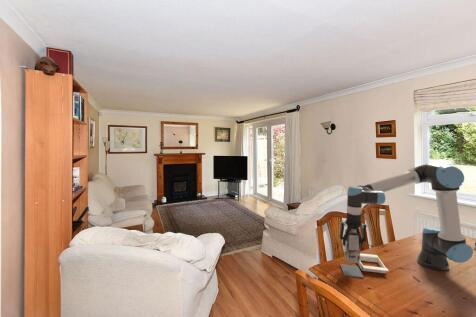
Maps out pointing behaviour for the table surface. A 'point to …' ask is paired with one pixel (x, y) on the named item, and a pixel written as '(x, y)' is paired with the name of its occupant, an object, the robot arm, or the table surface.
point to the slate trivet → (351, 271)
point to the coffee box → (353, 246)
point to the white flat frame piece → (372, 259)
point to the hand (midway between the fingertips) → (351, 251)
